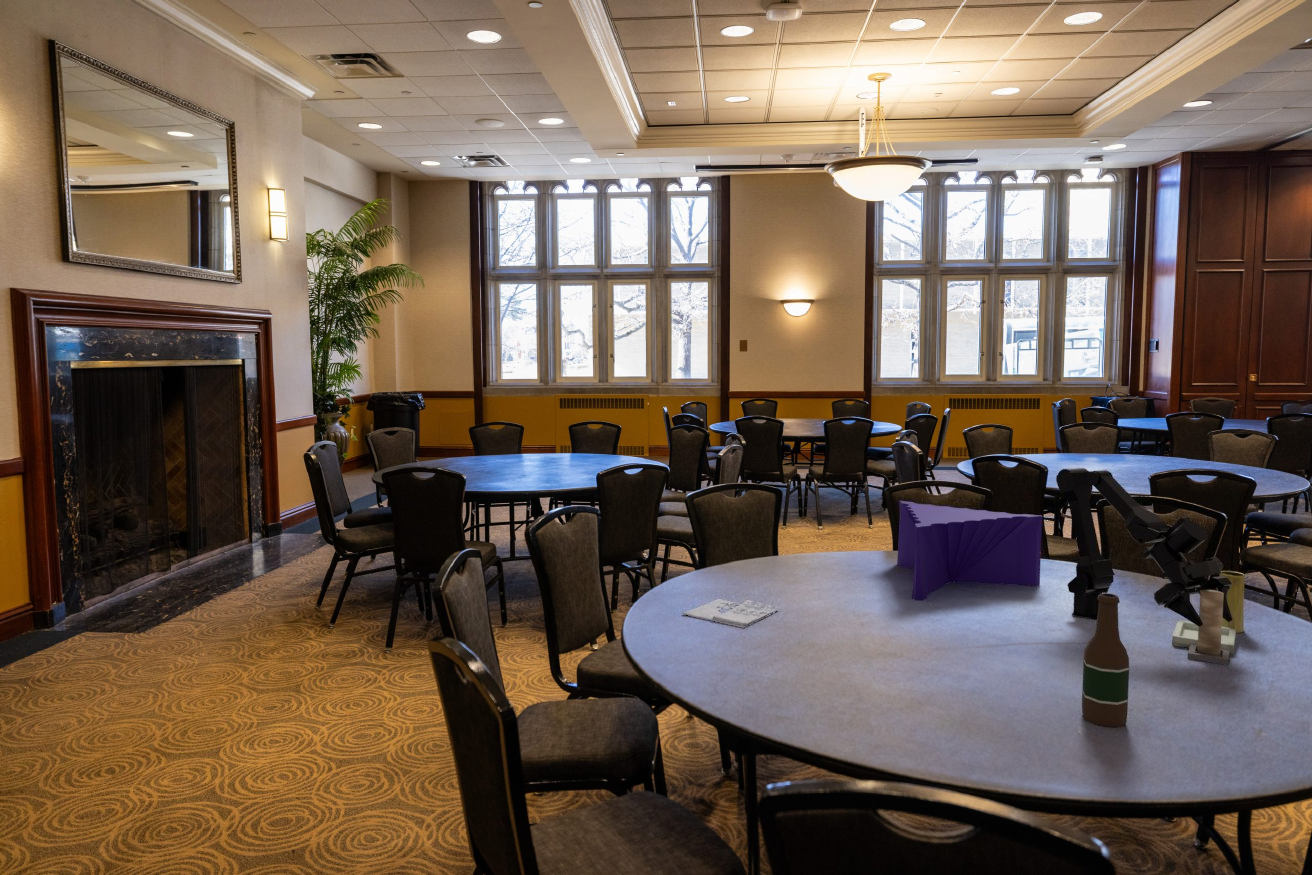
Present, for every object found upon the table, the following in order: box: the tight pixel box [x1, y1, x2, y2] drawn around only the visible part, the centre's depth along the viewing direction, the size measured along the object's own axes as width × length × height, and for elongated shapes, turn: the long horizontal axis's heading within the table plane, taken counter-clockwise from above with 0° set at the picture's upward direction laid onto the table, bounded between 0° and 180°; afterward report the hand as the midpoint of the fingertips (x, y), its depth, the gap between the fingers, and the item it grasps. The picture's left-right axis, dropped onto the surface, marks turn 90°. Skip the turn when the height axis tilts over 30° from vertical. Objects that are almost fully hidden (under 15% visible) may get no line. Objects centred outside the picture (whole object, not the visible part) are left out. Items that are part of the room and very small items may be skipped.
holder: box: [1187, 644, 1230, 666], centre depth 194 cm, size 8×8×1 cm
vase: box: [1219, 570, 1246, 634], centre depth 212 cm, size 6×6×14 cm
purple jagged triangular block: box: [896, 500, 1043, 602], centre depth 255 cm, size 40×45×21 cm
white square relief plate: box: [682, 598, 781, 629], centre depth 230 cm, size 19×20×2 cm
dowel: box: [1196, 590, 1224, 657], centre depth 193 cm, size 4×4×15 cm
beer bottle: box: [1081, 592, 1130, 728], centre depth 160 cm, size 8×8×24 cm
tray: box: [1171, 619, 1237, 656], centre depth 204 cm, size 12×15×2 cm
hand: (1216, 623), depth 192 cm, fingers open, 9 cm apart
